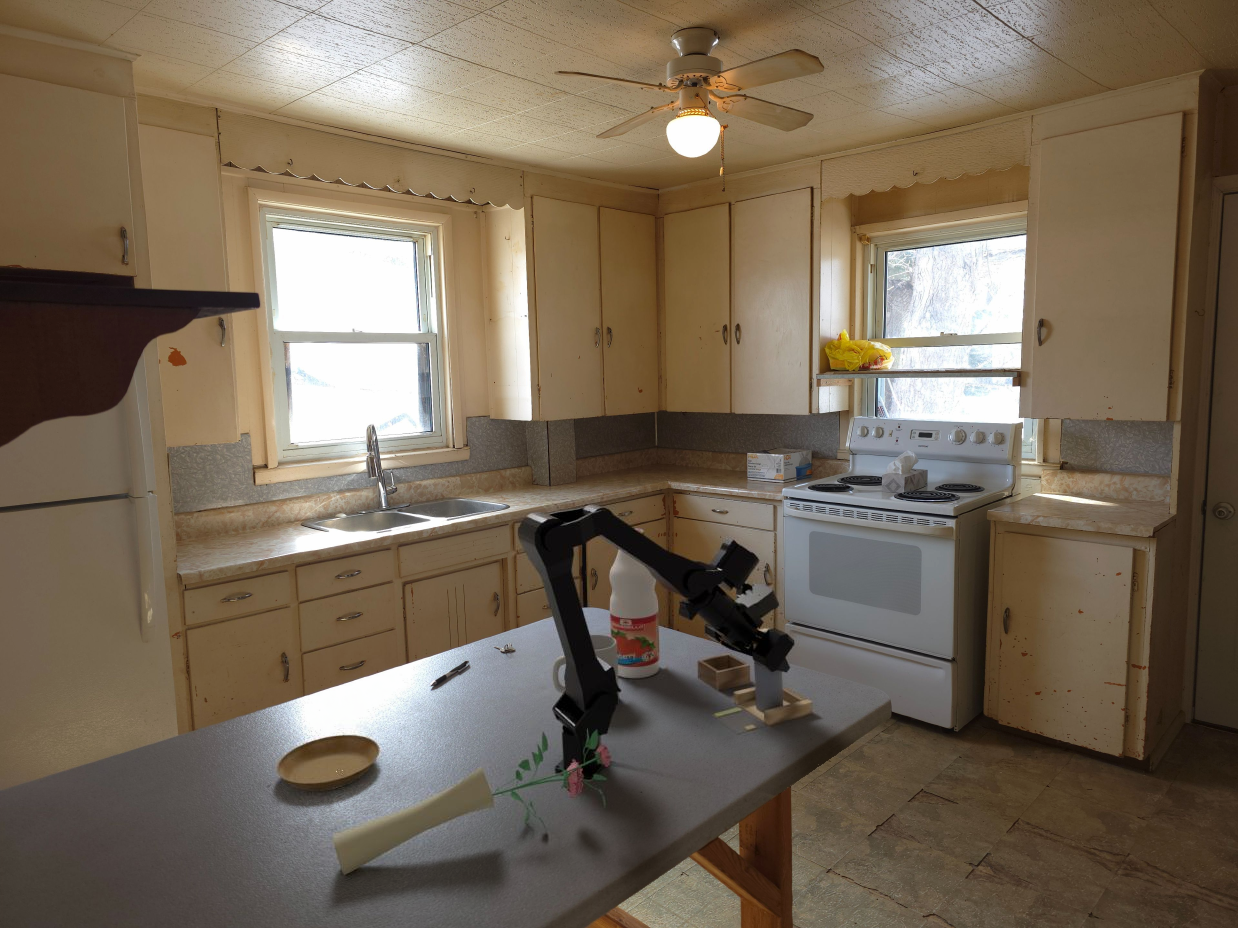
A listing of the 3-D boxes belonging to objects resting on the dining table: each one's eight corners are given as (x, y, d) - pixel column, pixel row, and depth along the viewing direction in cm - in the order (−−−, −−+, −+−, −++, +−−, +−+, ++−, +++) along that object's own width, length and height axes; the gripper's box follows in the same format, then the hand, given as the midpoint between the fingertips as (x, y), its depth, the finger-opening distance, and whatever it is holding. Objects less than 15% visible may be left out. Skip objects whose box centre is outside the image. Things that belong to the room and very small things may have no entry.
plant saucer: (399, 754, 127) (398, 739, 126) (343, 804, 113) (342, 787, 112) (319, 745, 131) (317, 730, 130) (255, 793, 117) (254, 776, 116)
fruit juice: (667, 665, 159) (663, 527, 156) (647, 682, 151) (642, 537, 147) (625, 658, 164) (620, 524, 160) (603, 675, 155) (598, 533, 152)
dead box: (718, 693, 145) (717, 672, 144) (697, 680, 151) (697, 660, 151) (750, 685, 148) (749, 664, 147) (729, 673, 154) (728, 653, 154)
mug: (609, 688, 149) (606, 631, 148) (626, 705, 141) (624, 645, 140) (547, 700, 145) (544, 641, 143) (561, 719, 137) (559, 657, 136)
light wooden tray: (768, 728, 131) (768, 713, 130) (733, 706, 140) (733, 691, 139) (812, 716, 134) (812, 701, 134) (776, 695, 143) (775, 681, 143)
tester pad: (737, 737, 128) (737, 732, 128) (710, 717, 135) (710, 713, 135) (767, 728, 131) (767, 724, 130) (739, 710, 138) (739, 706, 138)
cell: (779, 714, 134) (776, 636, 132) (752, 711, 136) (749, 633, 134) (786, 703, 138) (783, 626, 136) (760, 699, 140) (757, 624, 138)
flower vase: (362, 907, 102) (609, 788, 114) (361, 943, 90) (635, 806, 102) (333, 817, 103) (580, 708, 115) (328, 841, 91) (604, 717, 103)
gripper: (784, 585, 124) (839, 641, 130) (717, 560, 140) (770, 611, 146) (742, 644, 121) (801, 698, 127) (680, 611, 138) (734, 660, 144)
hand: (776, 663), depth 136 cm, fingers open, 6 cm apart
